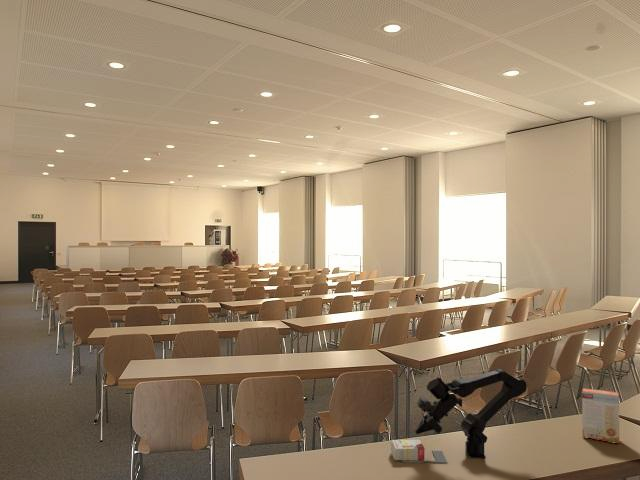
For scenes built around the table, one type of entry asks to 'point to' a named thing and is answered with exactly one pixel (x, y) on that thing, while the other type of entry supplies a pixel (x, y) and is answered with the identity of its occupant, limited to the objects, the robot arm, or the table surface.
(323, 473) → the table surface
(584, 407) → the cracker box
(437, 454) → the flat gray angled bracket
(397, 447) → the ink box
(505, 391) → the robot arm
